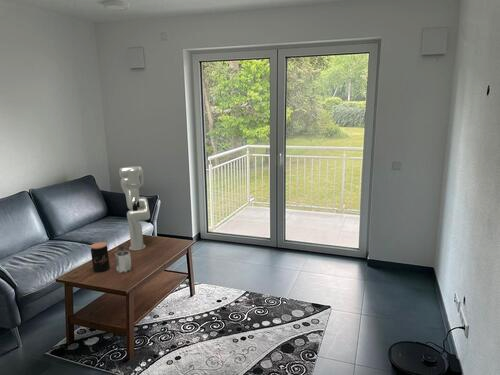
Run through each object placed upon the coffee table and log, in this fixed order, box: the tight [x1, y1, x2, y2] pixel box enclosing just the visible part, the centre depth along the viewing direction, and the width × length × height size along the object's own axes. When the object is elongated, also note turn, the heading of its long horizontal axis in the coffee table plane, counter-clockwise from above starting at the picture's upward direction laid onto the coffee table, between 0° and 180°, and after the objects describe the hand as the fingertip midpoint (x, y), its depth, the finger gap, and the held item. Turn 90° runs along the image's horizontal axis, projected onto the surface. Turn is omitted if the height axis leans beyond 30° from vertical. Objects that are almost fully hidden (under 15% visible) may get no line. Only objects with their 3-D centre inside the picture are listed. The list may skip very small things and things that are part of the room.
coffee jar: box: [90, 241, 110, 273], centre depth 260 cm, size 11×11×18 cm
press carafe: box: [114, 250, 132, 274], centre depth 260 cm, size 12×9×12 cm
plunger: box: [118, 243, 126, 256], centre depth 258 cm, size 7×7×14 cm
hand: (136, 208), depth 270 cm, fingers open, 9 cm apart
